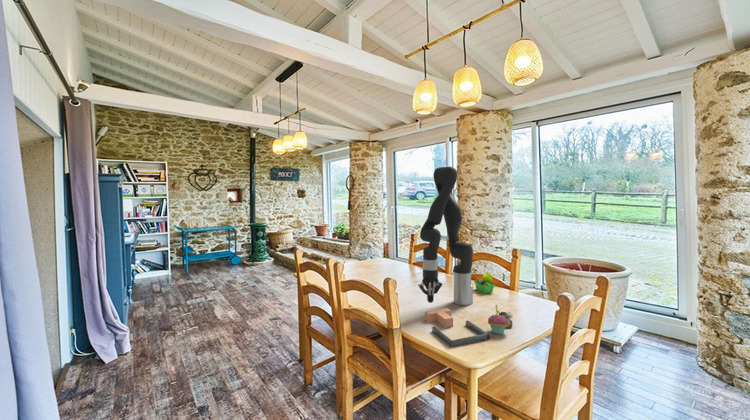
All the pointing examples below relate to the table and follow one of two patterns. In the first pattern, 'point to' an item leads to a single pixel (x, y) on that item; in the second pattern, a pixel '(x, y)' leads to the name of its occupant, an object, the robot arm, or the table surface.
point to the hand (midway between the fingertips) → (430, 302)
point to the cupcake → (498, 323)
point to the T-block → (440, 317)
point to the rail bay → (463, 341)
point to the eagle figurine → (507, 316)
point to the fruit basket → (485, 284)
